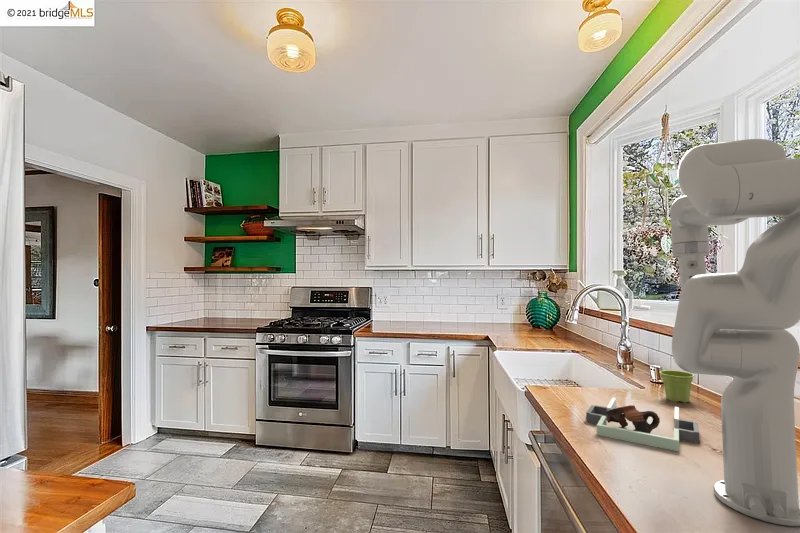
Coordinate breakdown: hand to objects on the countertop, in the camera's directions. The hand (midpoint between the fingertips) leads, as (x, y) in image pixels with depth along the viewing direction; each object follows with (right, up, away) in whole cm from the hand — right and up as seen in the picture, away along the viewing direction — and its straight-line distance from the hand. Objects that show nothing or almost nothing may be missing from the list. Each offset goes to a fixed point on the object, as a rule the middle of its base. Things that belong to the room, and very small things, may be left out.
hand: (694, 323), depth 96 cm
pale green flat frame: (-8, -29, +9) cm, 31 cm away
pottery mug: (-14, -29, +2) cm, 32 cm away
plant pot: (+17, -30, +30) cm, 45 cm away
